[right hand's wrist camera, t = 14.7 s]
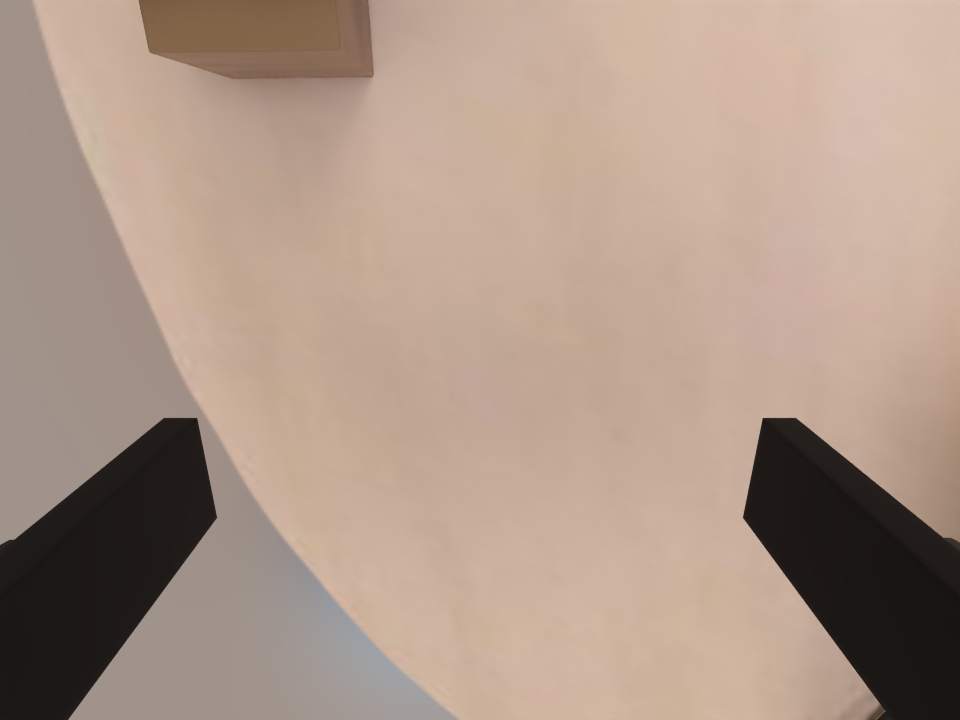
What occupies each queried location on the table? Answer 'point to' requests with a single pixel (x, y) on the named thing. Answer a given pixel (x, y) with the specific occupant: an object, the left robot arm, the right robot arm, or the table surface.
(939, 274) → the table surface
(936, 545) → the right robot arm
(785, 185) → the table surface
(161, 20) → the brown cube
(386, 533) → the table surface
